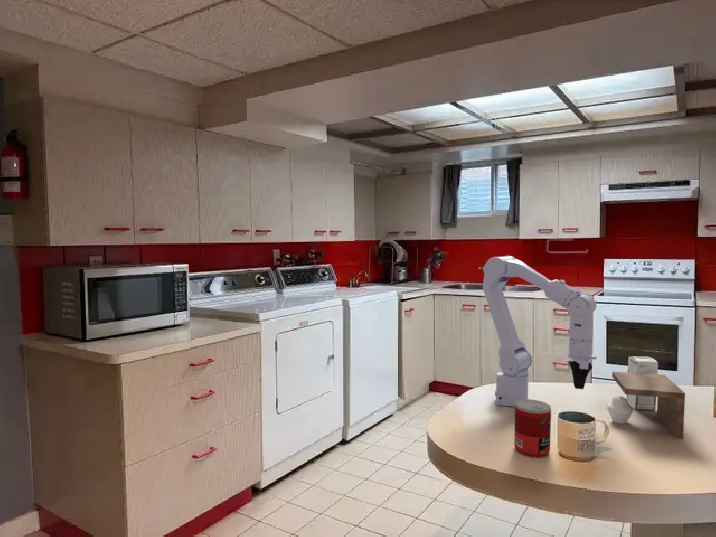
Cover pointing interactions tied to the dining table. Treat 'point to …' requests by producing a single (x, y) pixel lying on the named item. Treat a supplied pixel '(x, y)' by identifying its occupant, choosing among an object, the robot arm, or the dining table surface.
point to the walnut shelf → (663, 389)
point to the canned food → (532, 428)
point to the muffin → (619, 410)
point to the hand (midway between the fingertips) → (578, 388)
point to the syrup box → (645, 367)
